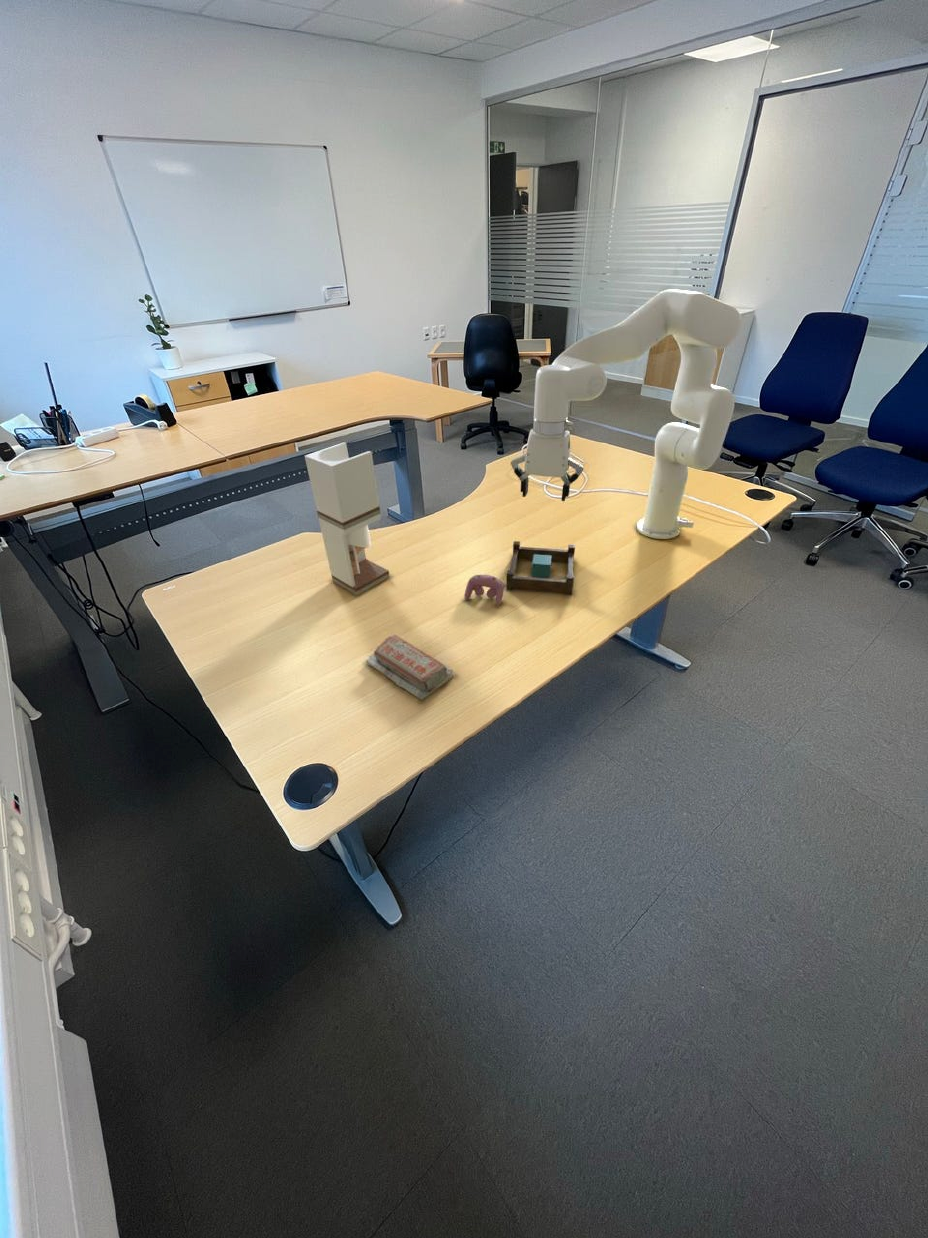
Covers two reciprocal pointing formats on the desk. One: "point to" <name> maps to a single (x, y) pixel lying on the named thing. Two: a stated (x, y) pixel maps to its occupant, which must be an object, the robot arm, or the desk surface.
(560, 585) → the wooden frame
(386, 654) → the packaged product
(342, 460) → the tall open-top tower
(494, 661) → the desk surface
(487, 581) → the video game controller
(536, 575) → the teal block
